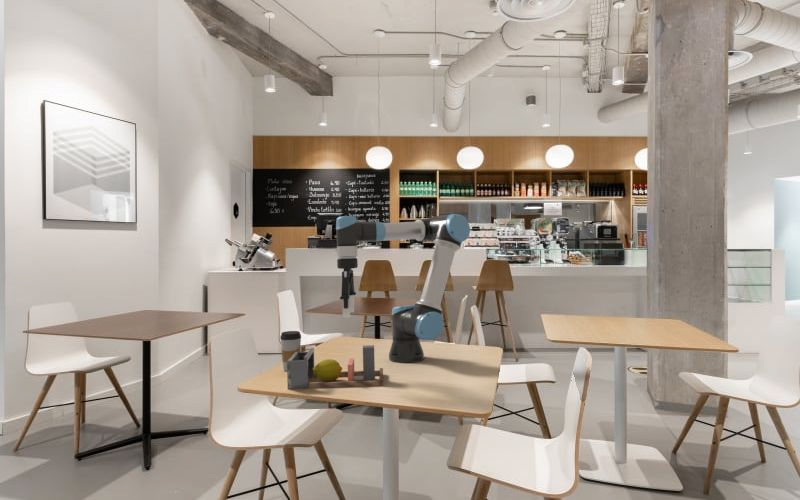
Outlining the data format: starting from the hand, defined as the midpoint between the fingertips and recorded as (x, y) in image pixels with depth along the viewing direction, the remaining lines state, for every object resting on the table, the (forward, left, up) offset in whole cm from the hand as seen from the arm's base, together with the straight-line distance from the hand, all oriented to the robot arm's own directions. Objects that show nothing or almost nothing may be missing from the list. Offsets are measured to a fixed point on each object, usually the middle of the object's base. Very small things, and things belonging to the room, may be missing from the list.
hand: (348, 314), depth 178 cm
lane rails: (+1, +4, -24) cm, 24 cm away
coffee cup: (+25, -15, -24) cm, 38 cm away
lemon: (+8, +4, -24) cm, 25 cm away
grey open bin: (+17, +4, -24) cm, 29 cm away
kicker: (-5, +4, -23) cm, 24 cm away
